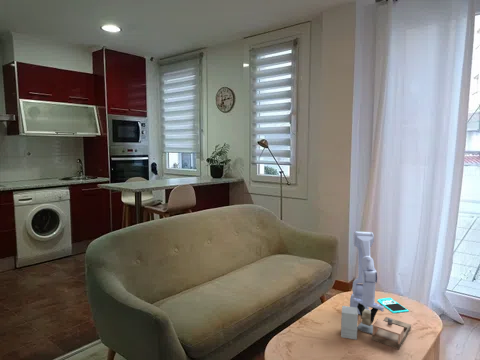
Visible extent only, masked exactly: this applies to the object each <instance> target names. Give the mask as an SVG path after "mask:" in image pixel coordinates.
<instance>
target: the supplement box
mask: <svg viewBox="0 0 480 360" xmlns="http://www.w3.org/2000/svg"><path fill="white" fill-rule="evenodd" d="M358 316H359V314H358V311H357V308H355V307H350V306H349V305H347V306H346V305H342V307H341V326H340V327H341V328H340V337H341V338H344V339H345V338H346V339H350V340H356V341H357V340H358V330H357V326H358V322H359V321H358V318H359V317H358Z"/></svg>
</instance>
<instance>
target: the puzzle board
mask: <svg viewBox="0 0 480 360" xmlns="http://www.w3.org/2000/svg"><path fill="white" fill-rule="evenodd" d="M388 318H389V317H388V316H385V317H384V319H383V320H382V321H385V322H388ZM391 319H392V324H395V325H398V326H401V327H404V335H403V339H402V341H401V342H400V344H398V335H397V334H394V333H391V332H388V331H385V330H382V329H378V330H377V332H376V333H375V334H374V335H371V340H372V341H375V342H378V343H381V344H384V345H386V346H390V347H392V348H394V349H397V350H400V349H401V347H402V345H403V344H404V342H405V339H406V338H407V336H408V335H409V332H410V331H411V329H412V324H410V323H407V322H404V321H400V320H398V319H394V318H391Z"/></svg>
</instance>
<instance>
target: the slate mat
mask: <svg viewBox="0 0 480 360" xmlns="http://www.w3.org/2000/svg"><path fill="white" fill-rule="evenodd" d="M357 331H360V332H364V333H366V334H369V335H371V336H372V335H373V324H371V325H370V326H368V325H365V324H362V321H361V322H360V323H359V324H357Z"/></svg>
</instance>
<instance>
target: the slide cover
mask: <svg viewBox="0 0 480 360" xmlns="http://www.w3.org/2000/svg"><path fill="white" fill-rule="evenodd" d="M392 319H393V318H392V317H391V318H390V317H388V322H385V321H383V320H382V319H379V318H377V319H376V320H375V321H374V322H373V323H372V325H373V335H374V334H375V333H376V332H377V330H378V329H382V330H385V331H388V332H391V333H394V334H397V335H398V344H400V342H401V341H402V339H403V335H404V333H405V331H404V327H401V326H398V325H395V324H392Z"/></svg>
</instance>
